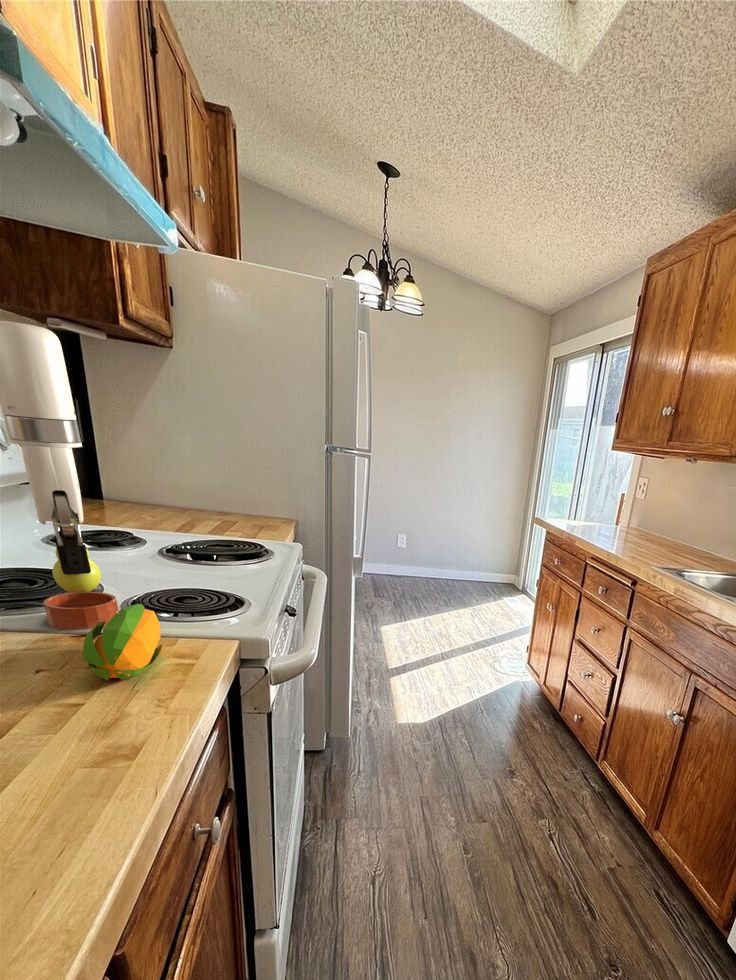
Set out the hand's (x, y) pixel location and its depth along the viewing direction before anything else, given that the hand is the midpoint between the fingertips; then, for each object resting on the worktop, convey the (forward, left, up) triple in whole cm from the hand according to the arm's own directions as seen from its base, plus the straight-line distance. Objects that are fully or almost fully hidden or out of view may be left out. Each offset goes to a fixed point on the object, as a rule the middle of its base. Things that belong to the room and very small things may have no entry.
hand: (75, 567), depth 81 cm
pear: (0, 0, -4) cm, 4 cm away
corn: (+4, -16, -10) cm, 19 cm away
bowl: (0, 0, -9) cm, 9 cm away
